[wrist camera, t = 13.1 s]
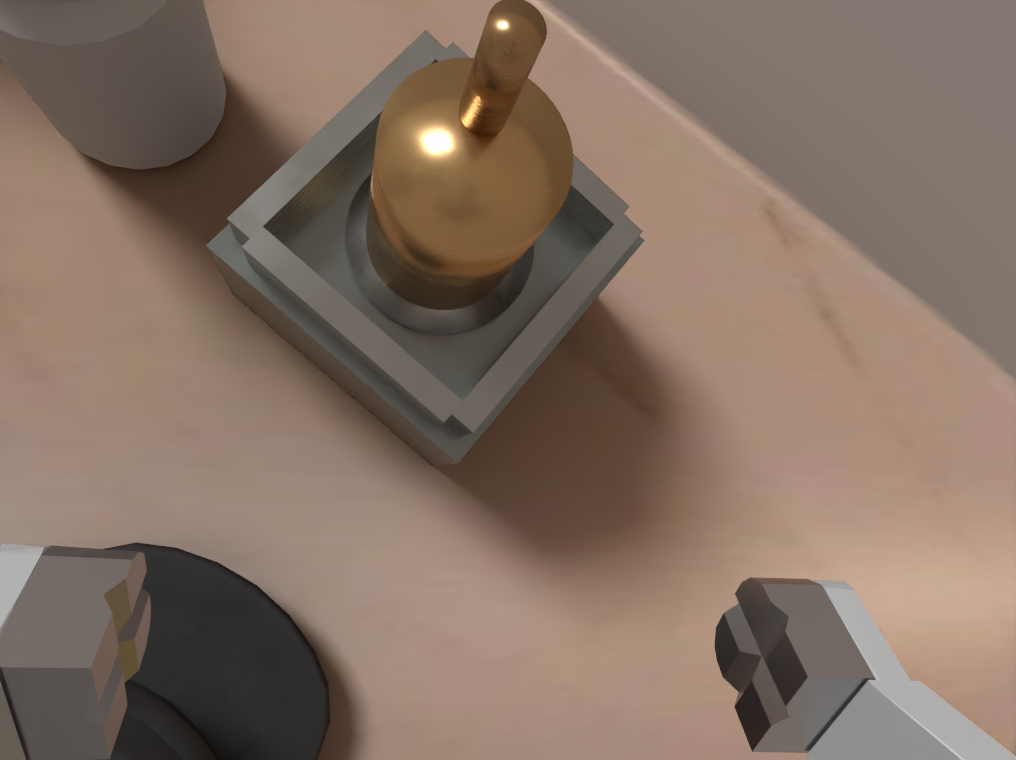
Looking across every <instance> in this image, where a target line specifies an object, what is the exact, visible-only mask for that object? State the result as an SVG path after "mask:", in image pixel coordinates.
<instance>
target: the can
mask: <svg viewBox="0 0 1016 760" xmlns="http://www.w3.org/2000/svg"><path fill="white" fill-rule="evenodd" d="M0 58H1V60H2V61H3V62H4V63H5V65H6V66H7V67H8V68H9V70H10V71H11V72H12V74H13V75H14V76H15V77H16V79H17V80H18V81H19V82H20V84H21V85H22V86H23V87H24V89H25V90H26V91H27V92H28V94H29V95H30V96H31V97H32V99H33V100H34V101H35V102H36V104H37V105H38V106H39V107H40V109H41V110H42V111H43V113H44V114H45V115H46V116H47V118H48V119H49V120H50V121H51V123H52V124H53V125H54V126H55V128H56V129H57V130H58V131H59V133H60V134H61V135H62V136H63V137H65V138H66V139H67V140H68V141H69V142H70V143H72V144H73V145H74V146H75V147H76V148H77V149H78V150H80V151H81V152H82V153H84V154H86V155H88V156H90V157H92V158H95V159H97V160H99V161H101V162H103V163H106V164H108V165H111V166H118V167H124V168H131V169H138V170H140V169H148V168H156V167H164V166H169V165H171V164H173V163H175V162H178V161H180V160H182V159H184V158H187V157H189V156H191V155H193V154H194V153H195V152H196V151H197V150H198V149H200V148H201V147H202V146H203V145H204V144H205V143H206V142H207V141H209V140H210V139H211V138H212V136H213V134H214V132H215V130H216V129H217V127H218V125H219V123H220V121H221V119H222V118H223V114H224V107H225V100H226V93H227V92H226V87H225V83H224V78H223V74H222V69H221V65H220V62H219V58H218V54H217V51H216V47H215V44H214V40H213V36H212V33H211V29H210V26H209V22H208V18H207V15H206V11H205V8H204V4H203V0H0Z"/></svg>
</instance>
